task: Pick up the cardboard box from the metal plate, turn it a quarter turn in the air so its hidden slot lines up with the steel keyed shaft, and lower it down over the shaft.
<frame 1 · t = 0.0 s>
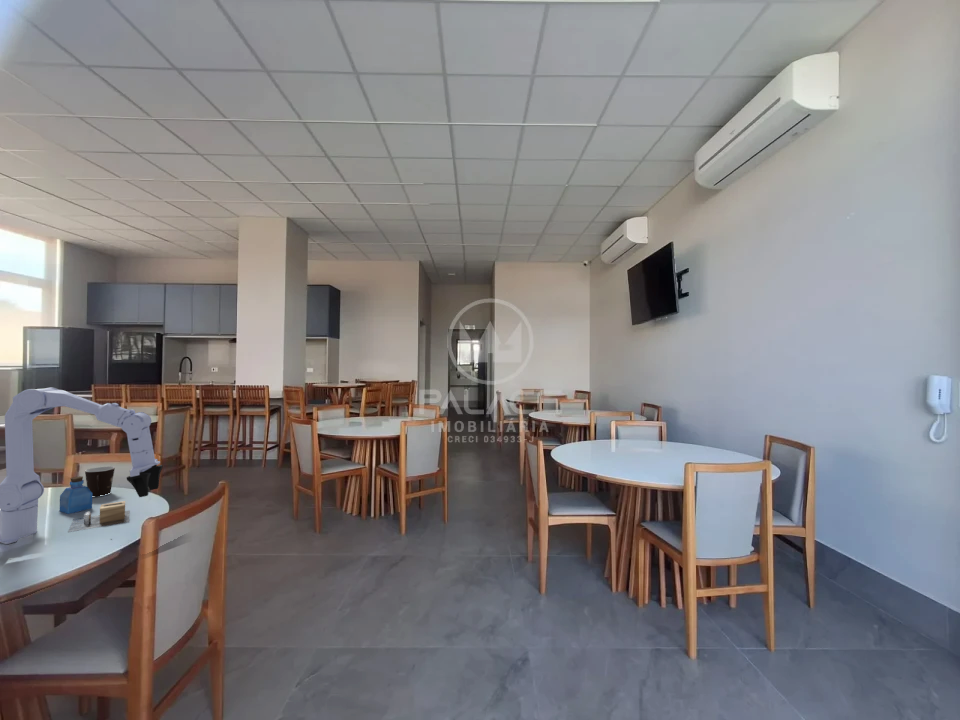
hand: (149, 492, 132), 11 cm above the table, tool pointing down, fingers open, 7 cm apart
coffee mug: (96, 496, 161), on the table
hub plate: (100, 523, 133), on the table
perfume bottle: (75, 513, 143), on the table
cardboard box: (112, 518, 135), point 1 cm above the table, touching hub plate
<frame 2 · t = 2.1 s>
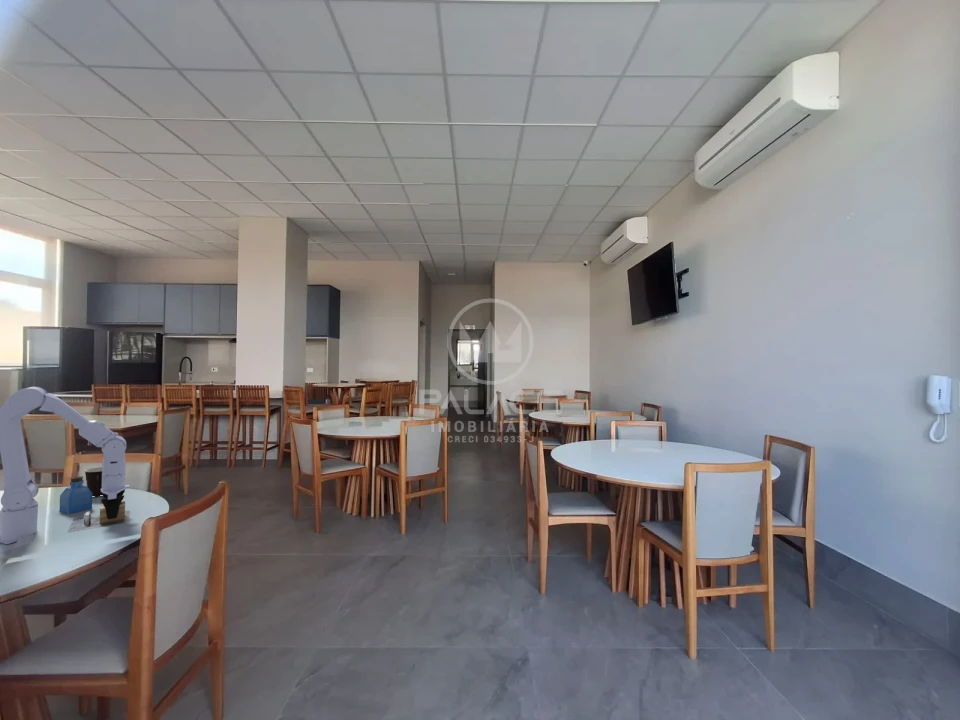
hand: (112, 515, 135), 2 cm above the table, tool pointing down, fingers closed on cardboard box, 5 cm apart
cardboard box: (112, 518, 135), point 1 cm above the table, touching gripper, hub plate
everything else where it was.
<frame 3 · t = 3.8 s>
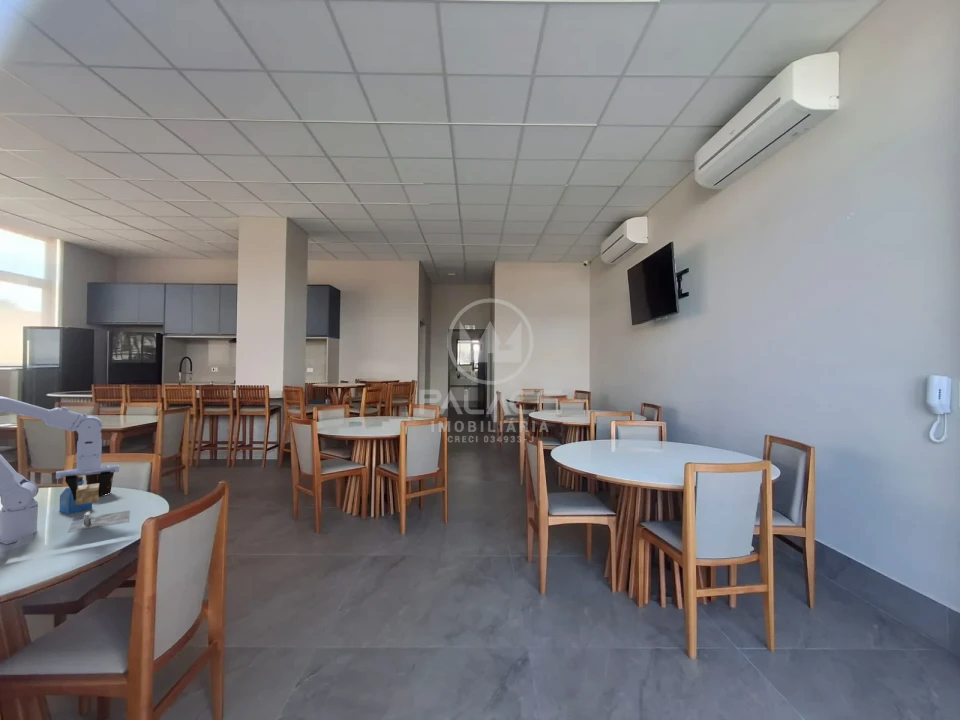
hand: (88, 497, 131), 9 cm above the table, tool pointing down, fingers closed on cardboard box, 5 cm apart
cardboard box: (87, 500, 131), point 8 cm above the table, touching gripper
everything else where it was.
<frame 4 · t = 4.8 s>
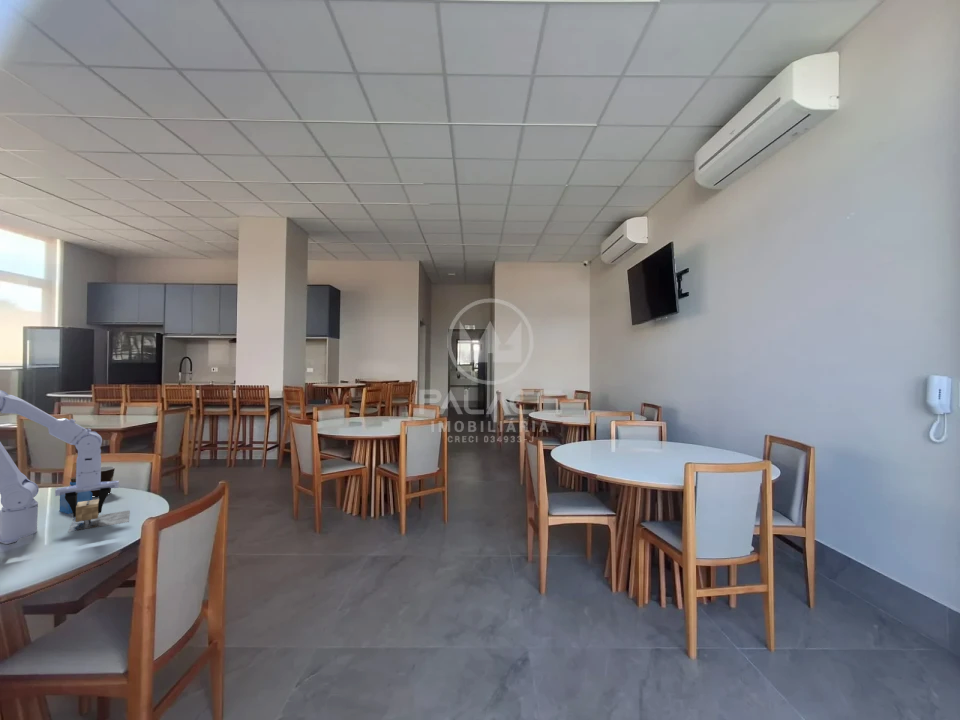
hand: (87, 514, 131), 4 cm above the table, tool pointing down, fingers closed on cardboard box, 5 cm apart
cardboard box: (87, 517, 131), point 3 cm above the table, touching gripper
everything else where it was.
when the fingers open (3 cm above the table, at t = 5.5 s): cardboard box stays where it is, resting on hub plate.
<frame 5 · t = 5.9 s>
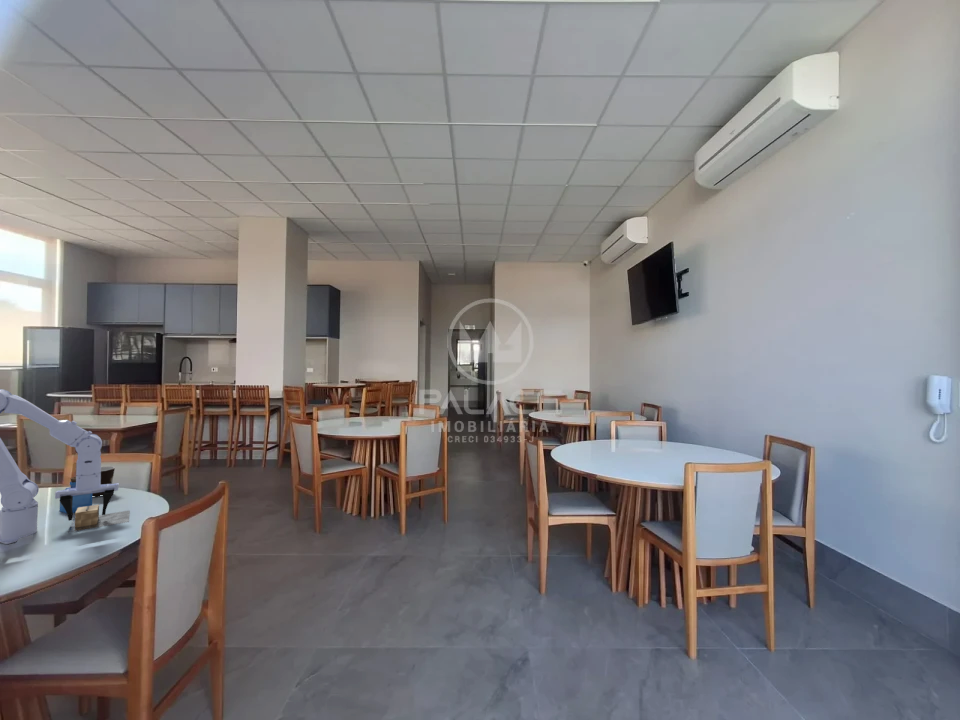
hand: (87, 516, 131), 3 cm above the table, tool pointing down, fingers open, 7 cm apart
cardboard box: (87, 522, 131), point 1 cm above the table, touching hub plate
everything else where it was.
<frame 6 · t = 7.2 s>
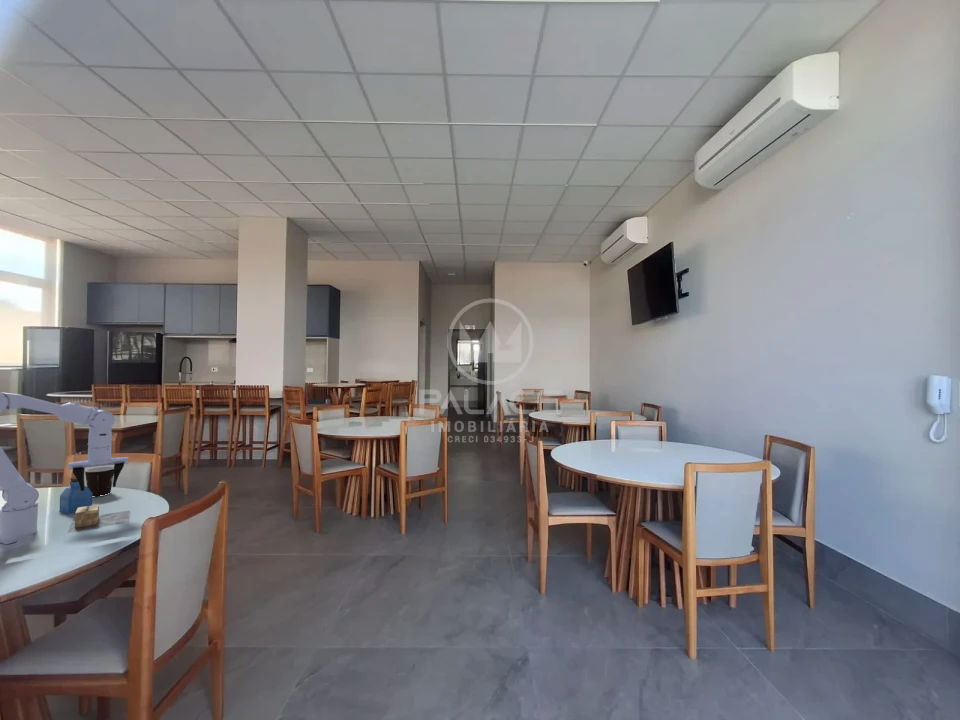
hand: (98, 488, 137), 10 cm above the table, tool pointing down, fingers open, 7 cm apart
nothing on the table moved.
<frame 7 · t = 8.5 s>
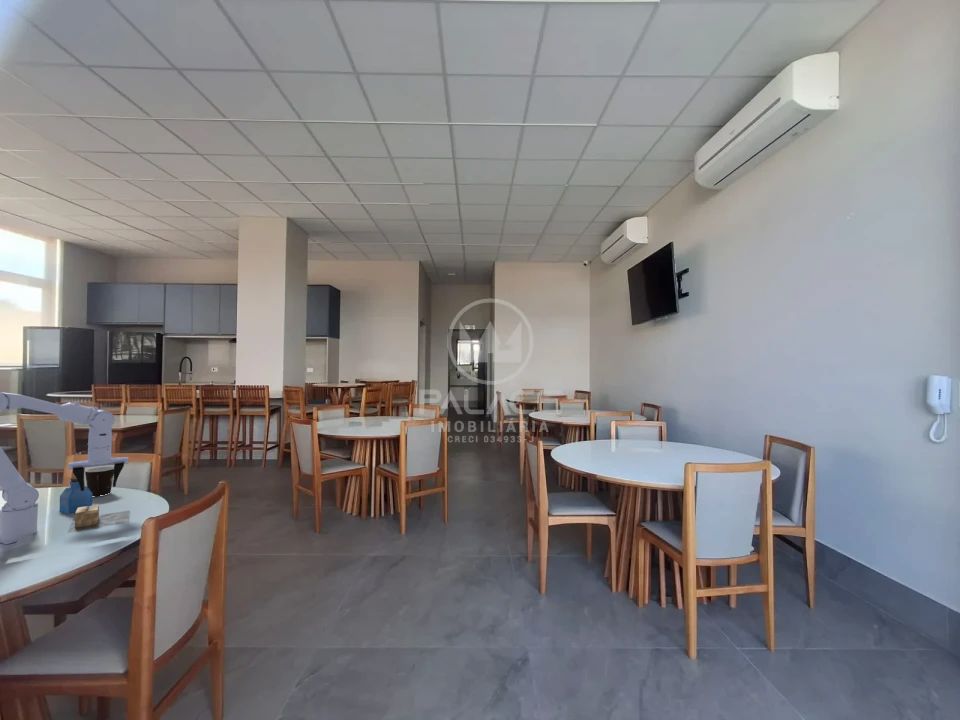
hand: (98, 488, 137), 10 cm above the table, tool pointing down, fingers open, 7 cm apart
nothing on the table moved.
at the end: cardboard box 0.1 cm from the target spot on the hub plate, point 1.0 cm above the hub plate's base; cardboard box tilted 0°; the gripper is holding nothing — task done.
